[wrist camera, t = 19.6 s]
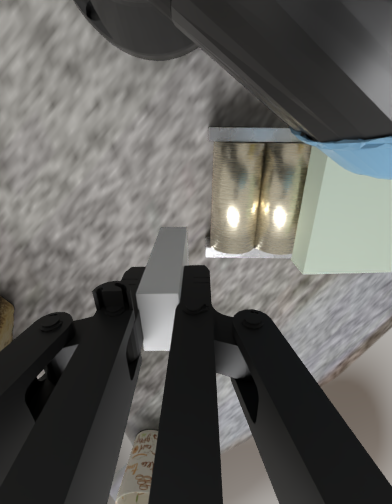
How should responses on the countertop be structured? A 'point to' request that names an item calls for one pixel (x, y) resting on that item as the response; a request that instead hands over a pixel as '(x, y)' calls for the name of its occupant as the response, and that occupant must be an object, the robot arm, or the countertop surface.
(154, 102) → the countertop surface
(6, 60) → the countertop surface
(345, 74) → the robot arm
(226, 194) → the roller bed
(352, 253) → the slab
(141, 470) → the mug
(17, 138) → the countertop surface
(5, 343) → the rock
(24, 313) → the countertop surface
